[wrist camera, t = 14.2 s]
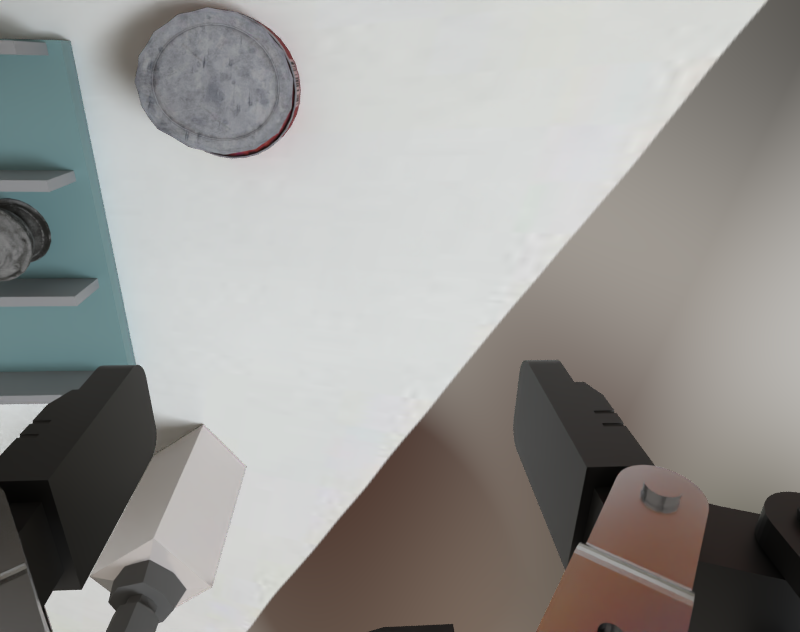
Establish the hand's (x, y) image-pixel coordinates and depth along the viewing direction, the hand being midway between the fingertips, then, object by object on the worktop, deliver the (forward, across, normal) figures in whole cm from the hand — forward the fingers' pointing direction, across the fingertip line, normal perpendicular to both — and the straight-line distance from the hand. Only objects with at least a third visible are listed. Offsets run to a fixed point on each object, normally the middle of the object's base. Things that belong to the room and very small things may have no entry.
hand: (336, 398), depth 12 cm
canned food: (+36, +9, -5) cm, 38 cm away
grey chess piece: (+35, +27, +6) cm, 44 cm away
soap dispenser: (+36, +17, +31) cm, 51 cm away
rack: (+36, +27, +6) cm, 45 cm away
